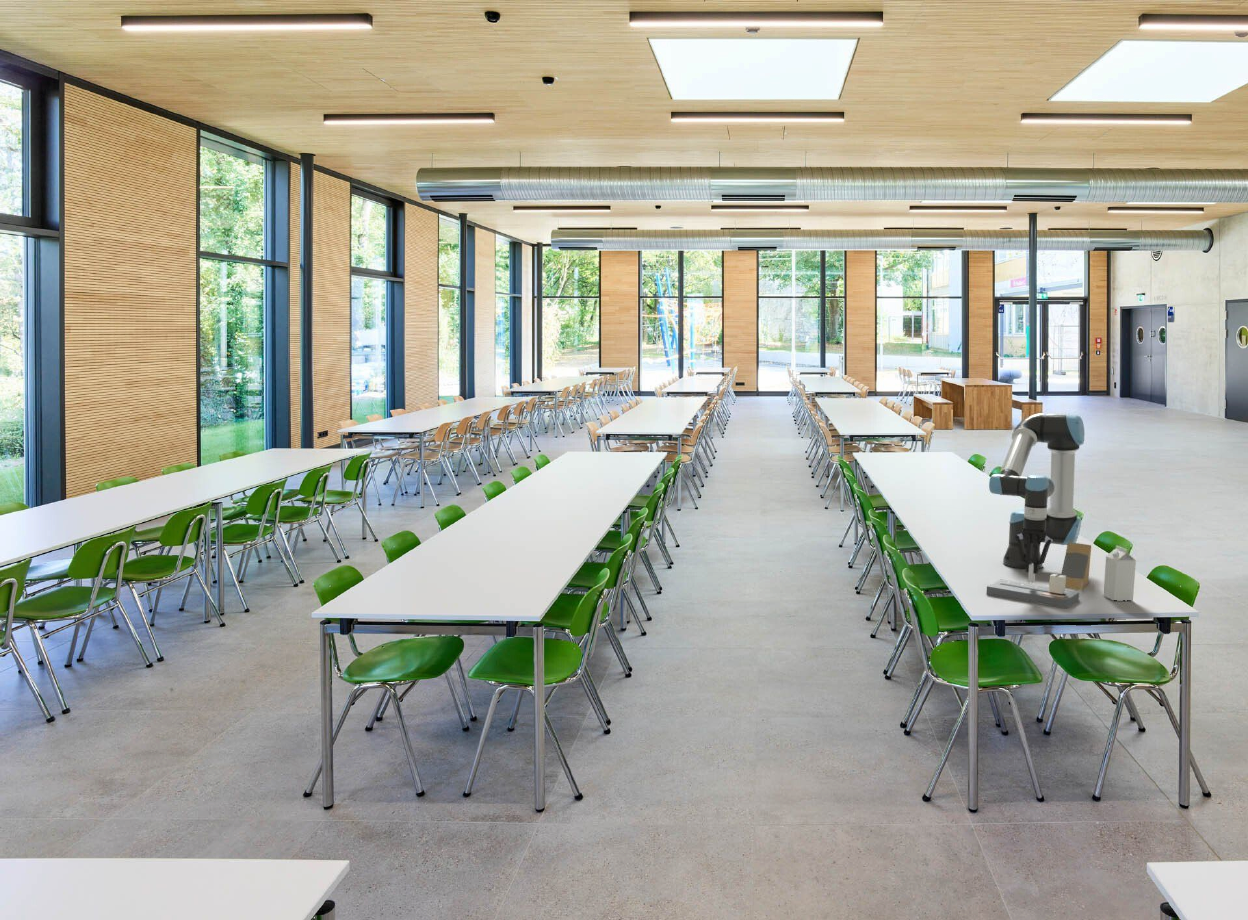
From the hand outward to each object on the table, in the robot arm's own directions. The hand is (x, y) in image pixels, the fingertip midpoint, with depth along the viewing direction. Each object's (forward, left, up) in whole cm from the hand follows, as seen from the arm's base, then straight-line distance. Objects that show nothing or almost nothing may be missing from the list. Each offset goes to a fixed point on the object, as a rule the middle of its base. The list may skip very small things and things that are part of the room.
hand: (1031, 581), depth 344 cm
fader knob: (0, +9, -2) cm, 9 cm away
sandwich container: (-29, +6, -6) cm, 30 cm away
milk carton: (-19, +25, -6) cm, 32 cm away
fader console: (0, +1, -6) cm, 6 cm away
